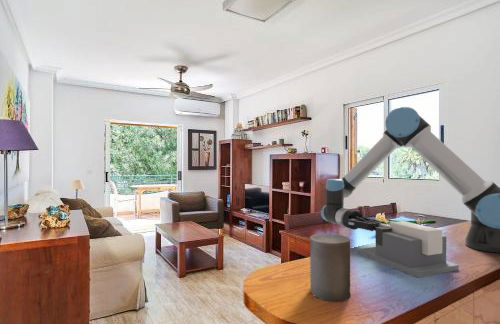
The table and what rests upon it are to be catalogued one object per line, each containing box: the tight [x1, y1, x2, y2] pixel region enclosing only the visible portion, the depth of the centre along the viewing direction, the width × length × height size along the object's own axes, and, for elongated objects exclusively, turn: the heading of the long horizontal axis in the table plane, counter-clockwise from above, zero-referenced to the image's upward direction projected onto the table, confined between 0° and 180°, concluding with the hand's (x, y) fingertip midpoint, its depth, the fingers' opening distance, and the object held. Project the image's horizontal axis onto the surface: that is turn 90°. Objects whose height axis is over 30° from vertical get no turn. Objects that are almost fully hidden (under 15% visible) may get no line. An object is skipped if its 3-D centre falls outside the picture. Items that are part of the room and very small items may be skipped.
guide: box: [357, 227, 460, 278], centre depth 100 cm, size 24×17×10 cm
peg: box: [389, 220, 443, 255], centre depth 96 cm, size 14×6×7 cm, turn 21°
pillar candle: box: [309, 232, 351, 302], centre depth 75 cm, size 10×10×15 cm
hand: (395, 231), depth 103 cm, fingers closed
